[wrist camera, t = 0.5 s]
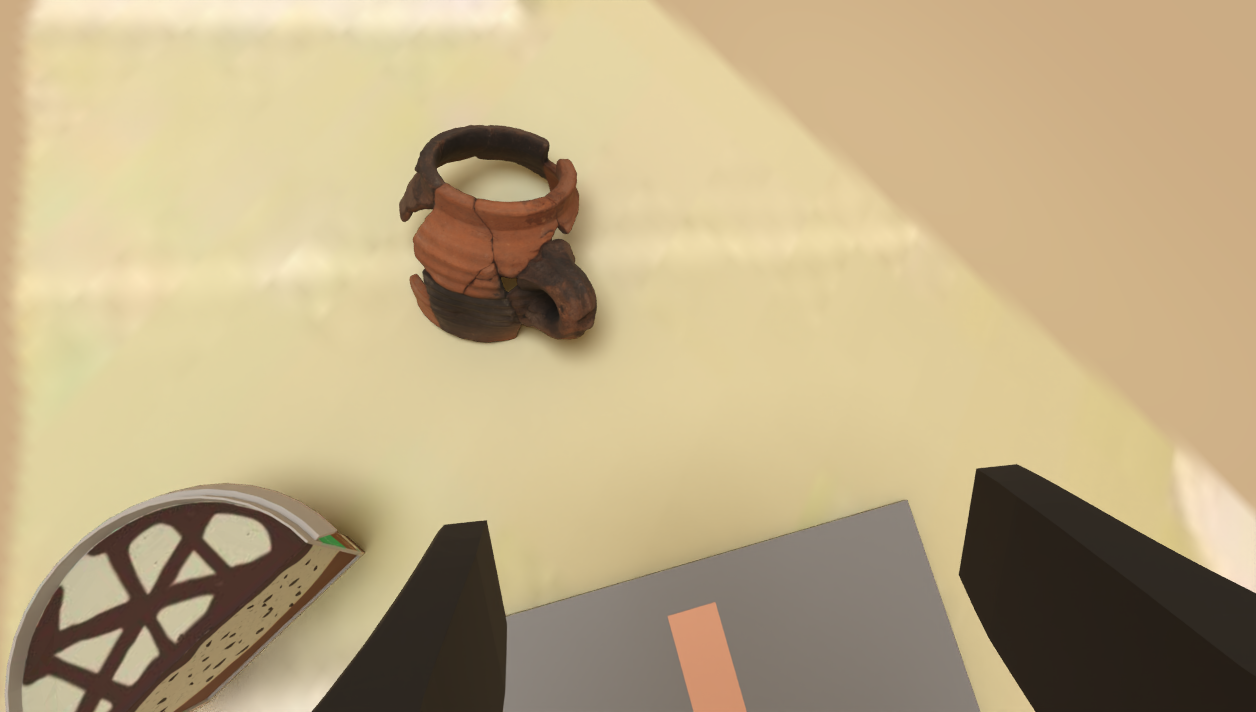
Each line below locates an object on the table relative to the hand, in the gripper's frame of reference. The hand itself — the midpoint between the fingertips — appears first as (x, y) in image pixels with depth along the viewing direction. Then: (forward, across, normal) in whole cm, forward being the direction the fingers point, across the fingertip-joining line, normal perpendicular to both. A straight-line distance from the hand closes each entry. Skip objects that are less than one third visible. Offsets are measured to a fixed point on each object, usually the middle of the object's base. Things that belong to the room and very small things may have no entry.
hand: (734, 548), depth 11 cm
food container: (+20, +19, +17) cm, 33 cm away
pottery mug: (+30, +6, +6) cm, 31 cm away
